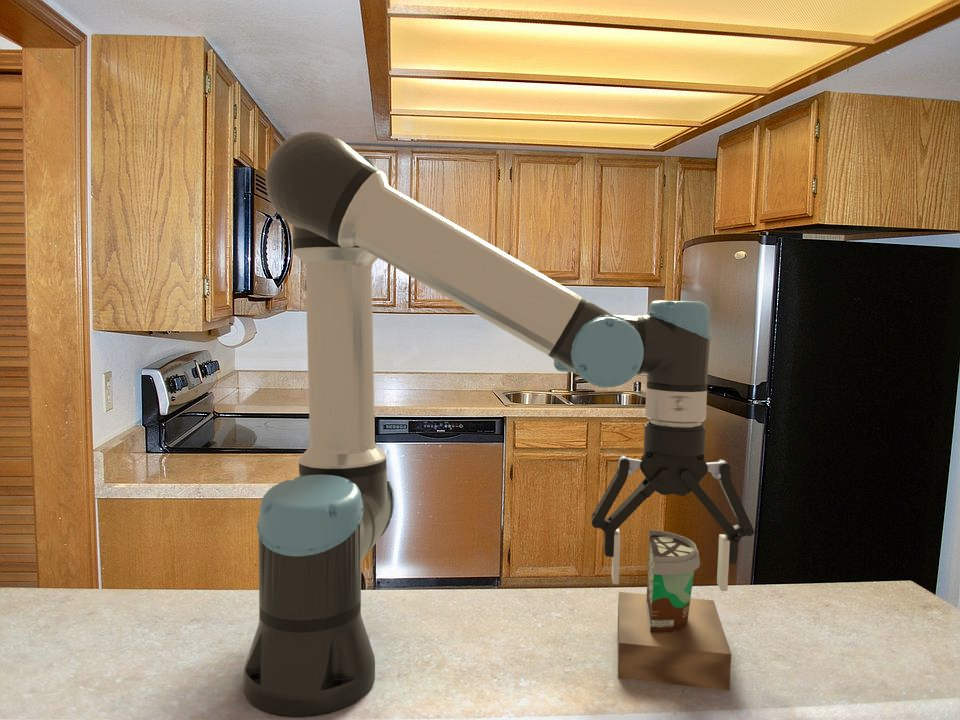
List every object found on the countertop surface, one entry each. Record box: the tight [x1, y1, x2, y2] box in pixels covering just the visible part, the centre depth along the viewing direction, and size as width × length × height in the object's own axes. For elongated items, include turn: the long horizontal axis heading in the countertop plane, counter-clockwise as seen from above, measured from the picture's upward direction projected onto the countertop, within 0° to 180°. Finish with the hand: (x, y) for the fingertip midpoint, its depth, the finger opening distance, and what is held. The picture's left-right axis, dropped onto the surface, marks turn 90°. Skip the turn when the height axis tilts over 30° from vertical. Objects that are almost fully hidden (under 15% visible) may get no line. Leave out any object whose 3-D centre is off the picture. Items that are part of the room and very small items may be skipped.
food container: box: [646, 529, 701, 633], centre depth 95 cm, size 12×6×10 cm, turn 170°
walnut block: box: [617, 591, 732, 691], centre depth 96 cm, size 13×16×5 cm
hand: (668, 584), depth 95 cm, fingers open, 13 cm apart
